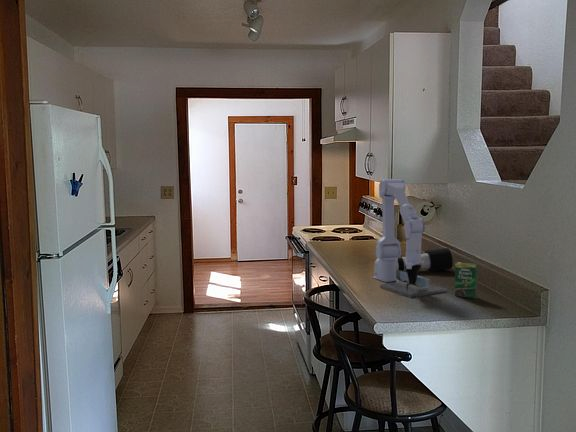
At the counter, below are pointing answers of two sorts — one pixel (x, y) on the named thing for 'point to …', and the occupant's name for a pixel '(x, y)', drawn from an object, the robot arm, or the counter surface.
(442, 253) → the black banded cylinder
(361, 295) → the counter surface
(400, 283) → the chassis
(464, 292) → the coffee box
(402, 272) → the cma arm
